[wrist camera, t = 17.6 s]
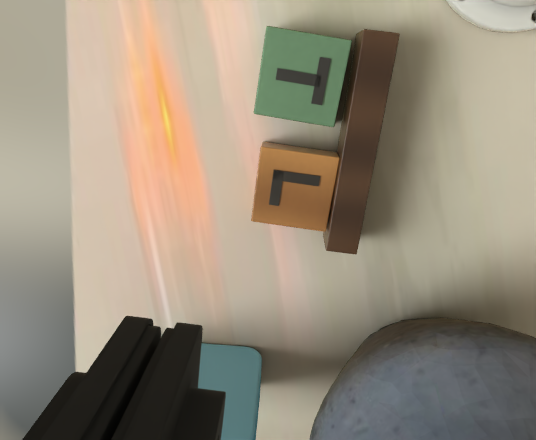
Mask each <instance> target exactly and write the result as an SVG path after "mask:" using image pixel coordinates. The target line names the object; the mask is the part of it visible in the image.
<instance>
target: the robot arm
mask: <svg viewBox="0 0 536 440" xmlns="http://www.w3.org/2000/svg"><path fill="white" fill-rule="evenodd" d="M446 1H447V3H448V4H449V5H450V7H451V8H452V9H453V10H454V11H455V12H456V13H457V14H459V15H460V16H461V17H462V18H463V19H465V20H466V21H468V22H470V23H472V24H474V25H475V26H477V27H480V28H484V29H487V30H490V31H494V32H509V33H512V32H519V31H527V30H532V29H536V0H446ZM532 14H534V16H535V18H534V20H532ZM201 344H202V326H201V325H194V324H186V323H177V324H176V325H175V328H174V329H173V328H166V330H165V332H164V334H163V336H162V338H161V328H160V327H158V326H153V320H152V319H148V318H140V317H133V316H126V317H125V318H124V319H123V321H122V322H121V324H120V325H119V326H118V328H117V329H116V331H115V332H114V334H113V335H112V337H111V338H110V340H109V341H108V342H107V344H106V345H105V347H104V348H103V350H102V351H101V353H100V354H99V356H98V357H97V358H96V360H95V361H94V363H93V364H92V366H91V367H90V369H89V370H88V372H87V373H81V372H75V373H73V374H71V375H70V376H69V377H68V379H67V380H66V381H65V383H64V384H63V385H62V387H61V388H60V389H59V391H58V392H57V393H56V395H55V396H54V397H53V399H52V400H51V402H50V403H49V404H48V406H47V407H46V408H45V410H44V411H43V412H42V414H41V415H40V416H39V418H38V420H37V421H36V422H35V423H34V425H33V426H32V427H31V429H30V430H29V431H28V433H27V434H26V435H25V437H24V438H23V440H221V434H222V426H223V418H224V408H225V399H226V392H224V391H216V390H209V389H201V388H198V380H199V368H200V356H201Z"/></svg>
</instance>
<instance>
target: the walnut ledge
mask: <svg viewBox="0 0 536 440" xmlns="http://www.w3.org/2000/svg"><path fill="white" fill-rule="evenodd" d="M399 35H400V34H399V33H392V32H384V31H375V30H367V29H364V30H362V31H361V32H359V33H358V34H356V40H355V46H354V52H353V58H352V64H351V70H350V76H349V82H348V88H347V94H346V100H345V106H344V112H343V118H342V124H341V130H340V136H339V142H338V148H337V154H338V156H339V158H340V160H339V165H338V170H337V175H336V181H335V186H334V191H333V197H332V202H331V207H330V213H329V218H328V223H327V229H326V232H323V237H324V242H325V247H326V251H334V252H342V253H349V254H357V249H358V244H359V239H360V234H361V229H362V224H363V219H364V214H365V209H366V203H367V198H368V193H369V188H370V183H371V178H372V173H373V168H374V163H375V158H376V153H377V147H378V142H379V137H380V132H381V127H382V122H383V117H384V112H385V107H386V102H387V96H388V91H389V86H390V81H391V76H392V71H393V66H394V61H395V56H396V51H397V46H398V40H399Z"/></svg>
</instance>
